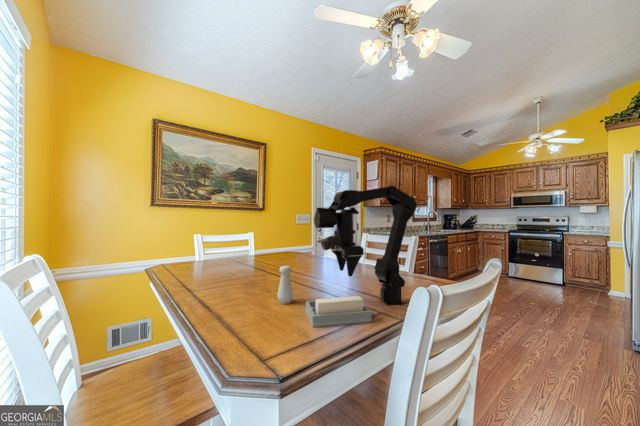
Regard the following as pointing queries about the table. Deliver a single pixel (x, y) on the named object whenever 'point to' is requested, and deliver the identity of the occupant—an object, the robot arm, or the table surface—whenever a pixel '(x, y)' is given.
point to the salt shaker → (285, 286)
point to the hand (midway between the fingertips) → (345, 273)
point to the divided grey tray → (337, 316)
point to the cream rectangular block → (339, 305)
